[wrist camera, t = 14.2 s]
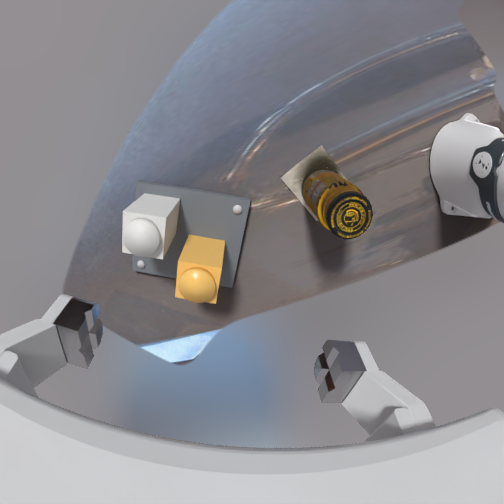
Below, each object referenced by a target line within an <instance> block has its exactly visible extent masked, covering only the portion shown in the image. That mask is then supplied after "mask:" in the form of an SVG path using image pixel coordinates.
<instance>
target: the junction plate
mask: <svg viewBox="0 0 504 504" xmlns="http://www.w3.org/2000/svg"><path fill="white" fill-rule="evenodd" d="M250 201H251V200H250V198H247V197H241V196H236V195H230V194H224V193H219V192H213V191H207V190H201V189H194V188H188V187H181V186H175V185H168V184H161V183H154V182H147V181H137V182H136V190H135V202H133V203H132V204H131V205H130V206H129V207H127V208H126V209H125V210H124V211H123V236H122V252H124V253H130V254H132V270H133V271H138V272H144V273H149V274H154V275H160V276H165V277H171V278H176V279H177V267H178V260H179V257H180V255H181V252H182V250H183V248H184V245H185V243H186V240H187V238H188V236H189V235H195V236H201V237H206V238H212V239H218V240H224V241H225V246H224V255H223V263H222V271H221V276H220V282H219V286H223V287H229V288H232V287H233V282H234V277H235V273H236V268H237V263H238V258H239V253H240V248H241V244H242V239H243V234H244V229H245V225H246V220H247V215H248V210H249V206H250Z"/></svg>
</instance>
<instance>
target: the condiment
mask: <svg viewBox="0 0 504 504" xmlns="http://www.w3.org/2000/svg"><path fill="white" fill-rule="evenodd" d="M327 167H328V168H327ZM301 178H302V180H301ZM281 179H282V180H283V182H284V183H285V184H286V185H287V186H288V187H289V189H290V190H291V191H292V192H293V193H294V194H295V196H296V197H297V198H298V199H299V200H300V202H301V203H302V204H303V205H304V206H305V208H306V209H307V210H308V211H309V213H310V214H311V215H312V216H313V217H314V219H315V220H316V221H317V222H318V221H320V223H322V225H323V226H324V227H325V228H327V229H328V230H330V231H332V233H333V234H335V235H336V236H338V237H341V238H343V239H352V238H356V237H358V236H360V235H361V234H362V233H364V232H365V231H366V230H367V228H368V227H369V225H370V223H371V220H372V216H373V213H372V206H371V204H370V202H369V200H368V199H367V197H365V196H364V195H363V193H362V192H361V191H360V189H359V188H358V187H357V186H355V185H354V184H352V183H351V182H349V181H347V179H346V178H345V176H344V175H343V174H342V172H341V171H340V169H339V168H338V167H337V165H336V164H335V163H334V161H333V160H332V159H331V157H330V156H329V155H328V153H327V152H326V151H325V149H324V148H323V147H322V145H321V146H320V147H318V148H317V149H316V150H314V151H313V152H312V153H311V154H309V155H308V156H307V157H306V158H304V159H303V160H302V161H301V162H299V163H298V164H297V165H296V166H295V167H293V168H292V169H291V170H290V171H288V172H287V173H286V174H285V175H284V176H282V177H281ZM301 181H302V183H301Z"/></svg>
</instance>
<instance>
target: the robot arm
mask: <svg viewBox="0 0 504 504" xmlns="http://www.w3.org/2000/svg"><path fill="white" fill-rule="evenodd" d="M430 171H431V177H432V180H433V183H434V186H435V188H436V190H437V192H438V194H439V197H440V205H441V210H442V212H443V213H445V214H449V215H460V216H470V217H480V218H492V217H493V218H494V219H496V220H498V221H500V222H502V223H504V135H503V134H502V133H501V132H500V131H499V129H498V128H496V127H493V126H489V125H486V124H482V123H480V122H479V120H478V119H477V118H476V117H475V116H474V115H473V114H470V113H466V114H465V115H464V116H463V117H462V118H461V119H460V120H458V121H455V122H451V123H449V124H447V125H445V126H444V127H443V128H442V129H441V130H440V131H439V133H438V134H437V136H436V138H435V140H434V143H433V146H432V150H431V156H430ZM451 208H452V209H451ZM100 313H101V312H100V306H99V305H98V304H97V303H93V302H90V301H86V300H83V299H79V298H76V297H72V296H68V295H65V294H62V295H60V296H59V297H58V299H57V300H56V301H55V302H54V303H53V305H52V306H51V307H50V309H49V310H48V311H47V312H46V314H45V315H44V316H43V318H42V319H41V320H40V319H36V320H33V321H31V322H29V323H26V324H24V325H22V326H20V327H18V328H15V329H13V330H10V331H8V332H6V333H3V334H1V335H0V504H504V413H503V412H502V411H500V410H498V409H497V408H489V409H486V410H484V411H481V412H479V413H476V414H473V415H471V416H468V417H465V418H462V419H459V420H456V421H453V422H450V423H447V424H444V425H440V426H437V427H436V426H435V424H434V421H433V420H432V417H431V415H430V413H429V411H428V409H427V407H426V405H425V403H423V402H422V401H421V400H420V399H418V398H417V397H416V396H414V395H413V394H412V393H410V392H409V391H408V390H406V389H405V388H404V387H403V386H401V385H400V384H399V383H397V382H396V381H394V380H393V379H392V378H391V377H389V376H388V375H387V374H386V373H384V372H383V371H379V369H378V367H377V365H376V363H375V361H374V359H373V357H372V355H371V353H370V351H369V348H368V346H367V344H366V343H365V342H364V341H338V340H327V341H326V342H325V344H324V345H323V347H322V348H323V351H324V353H322V354H320V355H319V356H318V358H317V360H316V362H315V367H314V375H315V379H316V381H318V382H319V383H320V384H321V385H320V387H319V388H318V390H319V394H320V398H321V402H322V403H342V405H343V406H344V407H345V408H346V409H347V410H348V411H349V412H350V414H351V415H352V416H353V417H354V418H355V419H356V420H357V421H358V422H359V424H360V425H361V426H362V427H363V428H364V429H365V430H366V431H367V432H368V433H369V435H370V436H369V437H368V438H367V439H366V440H365V441H364V442H361V443H355V444H346V445H336V446H326V447H325V446H324V447H310V448H309V447H308V448H249V447H233V446H222V445H212V444H204V443H196V442H189V441H182V440H176V439H171V438H165V437H160V436H155V435H151V434H146V433H142V432H138V431H133V430H130V429H125V428H122V427H118V426H115V425H111V424H108V423H105V422H101V421H98V420H95V419H92V418H89V417H86V416H83V415H80V414H78V413H75V412H72V411H70V410H67V409H64V408H62V407H59V406H57V405H54V404H52V403H50V402H47V401H45V400H43V399H41V398H39V397H38V395H37V393H36V392H35V390H34V387H36V386H37V385H38V384H40V383H41V382H43V381H44V380H45V379H47V378H48V377H50V376H51V375H53V374H54V373H55V372H57V371H58V370H60V369H61V368H63V367H64V366H65V365H67V363H69V364H73V365H76V366H79V367H83V368H86V369H87V368H88V367H89V364H90V363H91V361H92V359H93V357H94V354H93V350H94V349H96V348H98V346H99V344H100V342H101V338H102V334H103V327H102V322H101V321H100V320H99V318H98V317H99V315H100Z"/></svg>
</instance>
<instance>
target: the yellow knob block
mask: <svg viewBox="0 0 504 504" xmlns="http://www.w3.org/2000/svg"><path fill="white" fill-rule="evenodd" d="M224 246H225V241H224V240H218V239H212V238H206V237H201V236H195V235H189V236H188V238H187V240H186V243H185V245H184V248H183V250H182V252H181V255H180V257H179V260H178V267H177V279H176V292H175V297H178V298H184V299H187V300H188V301H191V302H194V303H202V302H207V303H214V304H216V300H217V294H218V288H219V282H220V276H221V271H222V263H223V255H224Z"/></svg>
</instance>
